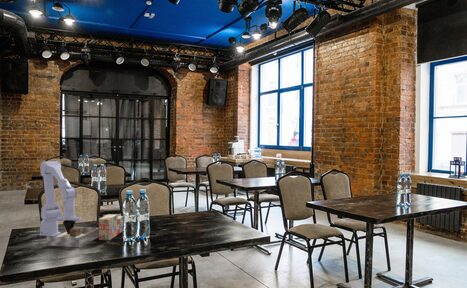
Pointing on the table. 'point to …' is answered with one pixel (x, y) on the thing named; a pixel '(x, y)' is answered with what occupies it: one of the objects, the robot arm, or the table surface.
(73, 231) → the walnut block
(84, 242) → the board
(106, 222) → the stack of blocks
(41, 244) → the table surface
